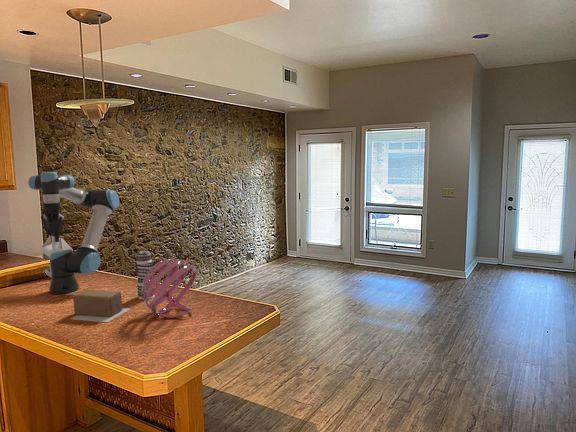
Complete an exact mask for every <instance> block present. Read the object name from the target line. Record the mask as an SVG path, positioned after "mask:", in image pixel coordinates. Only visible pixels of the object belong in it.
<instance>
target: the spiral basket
mask: <svg viewBox="0 0 576 432" xmlns="http://www.w3.org/2000/svg"><path fill="white" fill-rule="evenodd" d="M171 261H172V262H171ZM169 262H171V263H170V264H168V263H169ZM182 263H183V266H182V267H181V268H180V269H179V265H180V264H182ZM152 269H153V270H152ZM151 270H152V272H151ZM190 270H192V275H191V276H190V278H189V280H188V282H187V283H186V285H185V287H184V288H183V289H182V291H180V293H179V294H178V295H177V296H176V297H173V294H174V292H176V290H177V289H178V288H179V287H180V286H181V284H182V283H183V282H184V279H185V278H186V276H187V274H188V272H189V271H190ZM157 271H158V273H157ZM150 272H151V273H150ZM168 272H169V273H168ZM149 273H150V274H149ZM155 273H157V274H156V275H155ZM167 273H168V274H167ZM148 274H149V275H148ZM166 274H167V275H166ZM165 275H166V277H165V278H164V279H163V280H162V281H161V282H160V280H161V279H162V278H163V277H164V276H165ZM197 275H198V269H197V268H196V267H195V265H192V264H189V262H188V261H187V260H185V259H177V258H173V257H172V258H167V259H165V260H160V261H158V262H157V263H155V264H153V266H152V267H151V268H150V270H149V271H148V272H147V274H146V275H145V277H144V280H143V286H142V294H143V297H144V299H143V300H144V303H145V305H146V307H148V309H149V310H150V311H151V312H152V313H153V314H155V315H156V316H158V317H161V318H163V319H164V318H165V319H176V318H180V317H183V316H185V315H186V314H188V313H190V312H192V311H194V310H195V308H194V307H192V308H189V307H187V306H184V305H183V304H182V303H181V300H182V299H183V298H184V297H185V295H186V294H187V293H188V291H189V290H190V289H191V287H193V284H194V282H195V281H196V279H197ZM151 277H152V279H151V280H150V278H151ZM173 283H174V284H173ZM172 284H173V285H172ZM149 285H150V286H149ZM171 285H172V286H171ZM146 286H149V288H148V289H147V291H146ZM170 286H171V287H170ZM153 295H154V297H153V298H152V299H153V300H152V301H151V302H149V299H148V298H149V297H150V296H153ZM165 301H168V304H167V305H166V306H164V307H162V308H161V309H159V310H157V306H158V305H159V306H160V305H161V304H162V303H163V302H165ZM174 307H175V308H178V309H180V310H181V311H184V312H183V313H181V314H178V315H164V314H165V313H166V312H168V311H170V310H171V309H172V308H174Z"/></svg>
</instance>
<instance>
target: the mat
mask: <svg viewBox="0 0 576 432" xmlns="http://www.w3.org/2000/svg"><path fill="white" fill-rule="evenodd" d="M130 310H131V308H128V307H122V311H120V312H118V313H116V314H115V315H113V316H111V317H106V316H90V315H74V316H73V317H70V320H74V321H75V320H76V321H86V322H89V321H90V322H99V323H109V322H111V321H113V320H115V319H116V318H118V317H119V316H121V315H124V314H125V313H126V312H128V311H130Z"/></svg>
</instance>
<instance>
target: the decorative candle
mask: <svg viewBox="0 0 576 432" xmlns="http://www.w3.org/2000/svg"><path fill="white" fill-rule="evenodd" d="M135 256H136V261H135V262H134V264H135V265H134V266H135V272H136V278H137V286H136V287H137V297H138V298H137V299H139V300H144V297H143V294H142V286H143V280H144V277H145V275H146V274H147V272H148V271H149V270H150V268H151V267H153V266H154V261H153V260H152V253H151V252H150V251H149V250H140V251H137V253H136V254H135ZM153 270H154V268H153V269H152V270H151V272H152V271H153ZM151 272H150V273H151ZM150 273H149V274H150ZM149 274H148V275H149ZM152 278H153V276H152V277H151V278H150V280H151V279H152ZM149 286H150V285H149ZM149 286H146V291H147V289H148V288H149ZM154 297H155V294H154V295H153V296H150V297H149V298H148V300H149V299H154Z"/></svg>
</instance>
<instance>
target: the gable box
mask: <svg viewBox="0 0 576 432" xmlns="http://www.w3.org/2000/svg"><path fill="white" fill-rule="evenodd" d="M60 235H61V234H60ZM60 235H59V242H58V243H59V248H56V249H53V248H52V242H51V236H50V235H48V237H47V239H46V240H45V241H44V243H43V245H42V247H41V248H40V249H41V257H42V258H41V259H45V260H50V255H51V254H52V253H54V252H57V251H62V250H68V249H71V250H72V251H73V252H74V250H73V248H72V247H71V246H70V245H69V244H68V243H67V242H66V240H64V238H61V237H60ZM45 273H46V274H45ZM45 273H44V274H45V275H47V276H48V277H49V278H51V279H52V275H51V266H47V267H45ZM74 275H76V273H74Z"/></svg>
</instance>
